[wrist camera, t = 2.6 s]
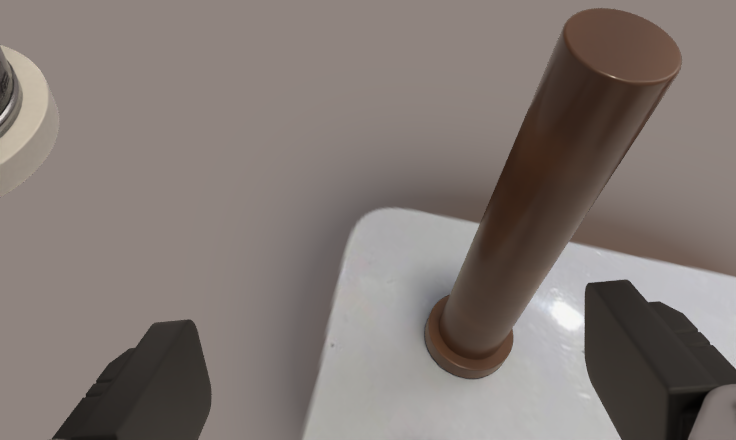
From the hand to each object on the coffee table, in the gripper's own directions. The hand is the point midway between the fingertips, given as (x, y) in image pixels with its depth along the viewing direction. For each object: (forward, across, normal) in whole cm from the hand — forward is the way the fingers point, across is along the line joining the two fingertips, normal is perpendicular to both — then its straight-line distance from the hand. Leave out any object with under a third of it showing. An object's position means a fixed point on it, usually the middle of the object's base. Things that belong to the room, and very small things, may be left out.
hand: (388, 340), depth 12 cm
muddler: (+14, -3, +9) cm, 17 cm away
